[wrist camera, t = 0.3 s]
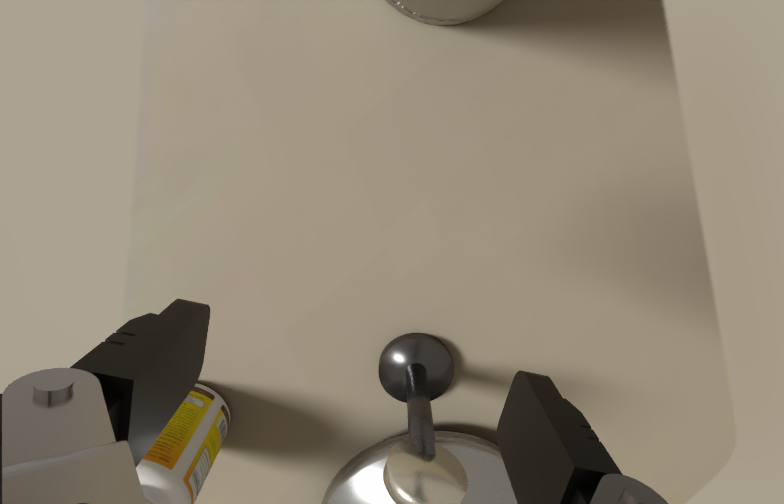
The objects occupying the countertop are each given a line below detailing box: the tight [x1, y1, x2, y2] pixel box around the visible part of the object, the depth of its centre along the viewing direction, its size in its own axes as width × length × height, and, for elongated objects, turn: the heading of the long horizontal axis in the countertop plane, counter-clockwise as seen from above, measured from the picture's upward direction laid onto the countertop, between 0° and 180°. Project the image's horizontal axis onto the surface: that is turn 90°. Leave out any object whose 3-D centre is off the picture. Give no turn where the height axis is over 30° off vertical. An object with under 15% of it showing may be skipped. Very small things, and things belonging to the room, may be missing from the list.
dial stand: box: [379, 333, 468, 504], centre depth 26 cm, size 5×5×12 cm
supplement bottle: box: [136, 383, 230, 504], centre depth 28 cm, size 6×6×10 cm
